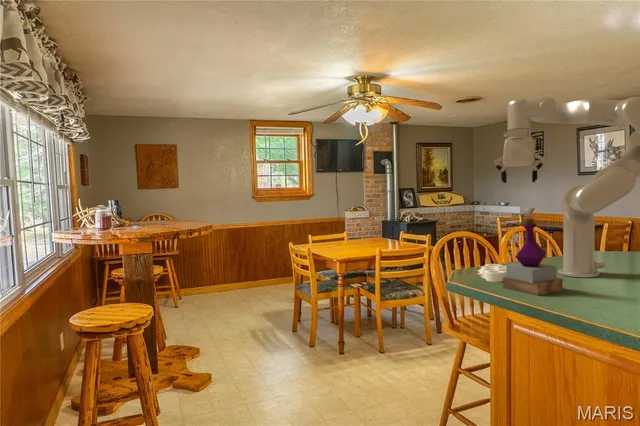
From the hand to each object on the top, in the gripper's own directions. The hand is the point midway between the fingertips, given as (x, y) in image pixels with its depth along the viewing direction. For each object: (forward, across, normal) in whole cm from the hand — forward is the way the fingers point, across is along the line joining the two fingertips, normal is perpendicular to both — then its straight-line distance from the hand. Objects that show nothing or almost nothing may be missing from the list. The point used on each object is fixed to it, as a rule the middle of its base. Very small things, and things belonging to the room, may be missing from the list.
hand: (519, 182), depth 158 cm
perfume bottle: (+26, +7, -23) cm, 35 cm away
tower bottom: (+34, +7, -22) cm, 41 cm away
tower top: (+30, +7, -23) cm, 38 cm away
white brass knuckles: (+34, -6, -8) cm, 35 cm away
